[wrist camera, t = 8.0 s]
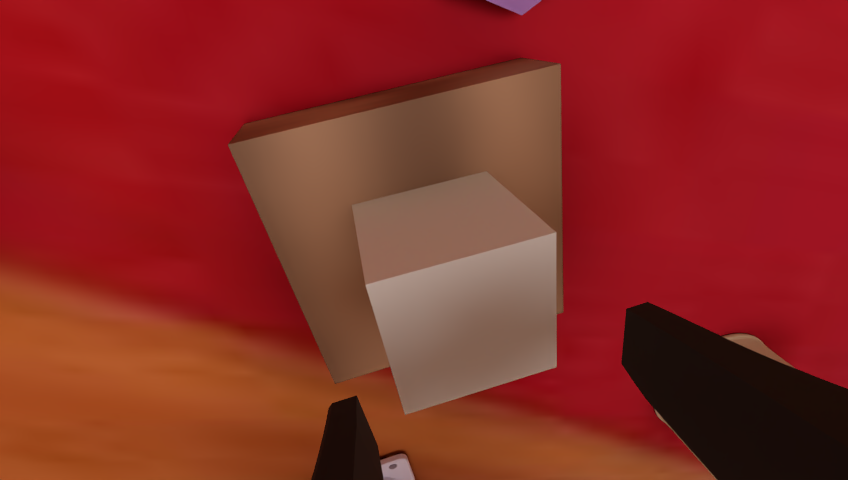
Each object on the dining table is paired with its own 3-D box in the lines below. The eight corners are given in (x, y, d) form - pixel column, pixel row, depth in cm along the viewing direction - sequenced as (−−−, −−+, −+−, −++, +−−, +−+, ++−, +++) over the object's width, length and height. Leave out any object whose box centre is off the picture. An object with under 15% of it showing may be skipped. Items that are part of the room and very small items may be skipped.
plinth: (333, 338, 20) (335, 383, 18) (244, 123, 15) (228, 144, 12) (533, 277, 21) (563, 312, 19) (521, 57, 16) (560, 63, 13)
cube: (383, 312, 16) (404, 414, 12) (351, 205, 14) (365, 284, 10) (496, 280, 17) (556, 367, 13) (486, 171, 14) (556, 232, 10)
